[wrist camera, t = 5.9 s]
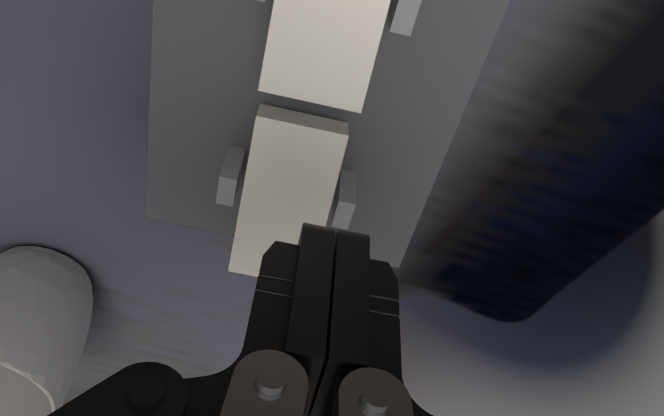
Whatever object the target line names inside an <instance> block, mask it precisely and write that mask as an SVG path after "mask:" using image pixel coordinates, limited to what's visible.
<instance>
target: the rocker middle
mask: <svg viewBox="0 0 664 416" xmlns="http://www.w3.org/2000/svg"><path fill="white" fill-rule="evenodd" d="M390 1H391V0H274V3H273V9H272V14H271V20H270V26H269V31H268V37H267V43H266V48H265V54H264V59H263V65H262V71H261V76H260V82H259V87H258V91H262V92H266V93H271V94H275V95H280V96H284V97H289V98H293V99H298V100H303V101H307V102H312V103H316V104H321V105H325V106H330V107H334V108H339V109H343V110H348V111H353V112H357V113H361V112H362V108H363V104H364V100H365V96H366V93H367V89H368V85H369V81H370V77H371V74H372V70H373V66H374V62H375V58H376V55H377V51H378V47H379V43H380V39H381V35H382V32H383V28H384V24H385V20H386V16H387V13H388V9H389V5H390Z"/></svg>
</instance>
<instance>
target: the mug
mask: <svg viewBox="0 0 664 416" xmlns="http://www.w3.org/2000/svg"><path fill="white" fill-rule="evenodd" d="M92 307H93V294H92V284H91V281H90V278H89V277H88V275H87V273H86V271H85V269H84V268H83V267H82V266H81V265H80V264H78V263H77V262H76V261H74V260H73V259H71V258H70V257H68V256H65V255H63V254H61V253H59V252H57V251H55V250H52V249H47V248H43V247H38V246H17V247H14V248H11V249H9V250H7V251H5V252H3V253H1V254H0V416H47V415H49V414H50V413H52V412H53V411H55V410H57V409H58V408H60V407H61V405H62V403H63V402H64V400H65V398H66V396H67V393H68V390H69V388H70V385H71V383H72V380H73V378H74V375H75V373H76V370H77V368H78V365H79V363H80V359H81V356H82V352H83V349H84V346H85V342H86V339H87V335H88V332H89V327H90V322H91V317H92Z"/></svg>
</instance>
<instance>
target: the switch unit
mask: <svg viewBox="0 0 664 416" xmlns="http://www.w3.org/2000/svg"><path fill="white" fill-rule="evenodd" d="M510 1H511V0H391V1H390V5H389V9H388V13H387V16H386V20H385V24H384V28H383V32H382V35H381V39H380V43H379V47H378V51H377V55H376V58H375V62H374V66H373V70H372V74H371V77H370V81H369V85H368V89H367V93H366V96H365V100H364V104H363V108H362V112H361V113H357V112H353V111H348V110H343V109H339V108H334V107H330V106H325V105H321V104H316V103H312V102H307V101H303V100H298V99H293V98H289V97H284V96H280V95H275V94H271V93H266V92H262V91H258V87H259V82H260V76H261V71H262V65H263V59H264V54H265V48H266V43H267V37H268V31H269V26H270V20H271V14H272V9H273V3H274V0H153V16H152V43H151V69H150V95H149V121H148V147H147V173H146V200H145V218H146V219H151V220H156V221H161V222H166V223H171V224H176V225H181V226H187V227H192V228H197V229H202V230H207V231H212V232H217V233H222V234H228V235H233V236H235V230H236V224H237V219H238V213H239V208H240V202H241V197H242V191H243V186H244V180H245V174H246V169H247V163H248V158H249V152H250V147H251V141H252V136H253V130H254V125H255V119H256V115H257V111H258V108H259V105H260V104H264V105H269V106H274V107H278V108H283V109H287V110H292V111H297V112H301V113H306V114H310V115H315V116H320V117H324V118H329V119H333V120H338V121H342V122H347V123H348V129H349V137H348V141H347V145H346V149H345V153H344V157H343V161H342V165H341V168H340V172H339V176H338V180H337V184H336V188H335V192H334V196H333V200H332V203H331V207H330V211H329V215H328V219H327V223H326V227H330V228H335V233H336V231H337V229H341V230H346V231H351V232H356V233H362V234H367V235H369V236H370V259H374V260H380V261H385V262H389V264H390V266H392V267H397V268H399V266H400V264H401V261H402V259H403V257H404V254H405V252H406V250H407V247H408V245H409V242H410V240H411V238H412V235H413V233H414V230H415V228H416V226H417V223H418V221H419V218H420V216H421V214H422V211H423V209H424V206H425V204H426V202H427V199H428V197H429V194H430V192H431V190H432V187H433V185H434V183H435V180H436V178H437V175H438V173H439V171H440V168H441V166H442V163H443V161H444V159H445V156H446V154H447V151H448V149H449V147H450V144H451V142H452V139H453V137H454V135H455V132H456V130H457V127H458V125H459V123H460V120H461V118H462V115H463V113H464V111H465V108H466V106H467V104H468V101H469V99H470V96H471V94H472V92H473V89H474V87H475V84H476V82H477V80H478V77H479V75H480V72H481V70H482V68H483V65H484V63H485V60H486V58H487V56H488V53H489V51H490V48H491V46H492V44H493V41H494V39H495V36H496V34H497V32H498V29H499V27H500V25H501V22H502V20H503V17H504V15H505V13H506V10H507V8H508V5H509V3H510Z"/></svg>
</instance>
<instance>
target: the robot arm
mask: <svg viewBox="0 0 664 416" xmlns="http://www.w3.org/2000/svg"><path fill="white" fill-rule="evenodd" d="M398 301H399V290H398V279H397V278H396V276H395V274H394V272H393V270H392V268H391V266H390V264H389V262H385V261H380V260H374V259H370V236H369V235H367V234H362V233H356V232H351V231H346V230H341V229H337V231H336V233H335V228H330V227H325V226H320V225H315V224H310V223H305V222H303V225H302V229H301V233H300V237H299V241H298V245H296V244H290V243H285V242H280V241H275V242H274V243H273V244H272V245H271V246H270V248H269V249H268V250H267V251H266V252H265V253H264V254H263V256H262V261H261V266H260V270H259V275H258V280H257V284H256V289H255V294H254V299H253V303H252V308H251V313H250V317H249V322H248V327H247V331H246V336H245V341H244V346H243V349H242V352H241V354H240V355H239V357H238V358H237V360H236V361H235V362H234V363H233V364H232V365H231V366H229V367H228V368H226V369H225V370H223V371H221V372H219V373H216V374H213V375H209V376H203V377H195V378H186V379H183V378H182V376H181V375H180V374H179V373H178V372H177V371H176V370H174V369H173V368H171V367H169V366H167V365H164V364H161V363H157V362H141V363H136V364H133V365H130V366H127V367H125V368H123V369H121V370H120V371H118V372H117V373H115V374H113V375H112V376H110V377H109V378H107V379H105V380H104V381H102V382H100V383H99V384H97V385H96V386H94V387H92V388H91V389H89V390H87V391H86V392H84V393H83V394H81V395H79V396H78V397H76V398H75V399H73V400H71V401H70V402H68V403H66V404H65V405H63V406H62V407H60V408H58V409H57V410H55V411H53V412H52V413H50V414H49V415H47V416H433V415H431V414H429V413H427V412H426V411H424V410H423V409H422V408H421V407H419V406H418V405H417V404H416V403H415V402H414V400H413V399H412V398H411V397H410V395H409V392H408V391H407V389H406V387H405V386H404V383H403V380H402V369H401V343H400V319H399V303H398Z"/></svg>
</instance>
